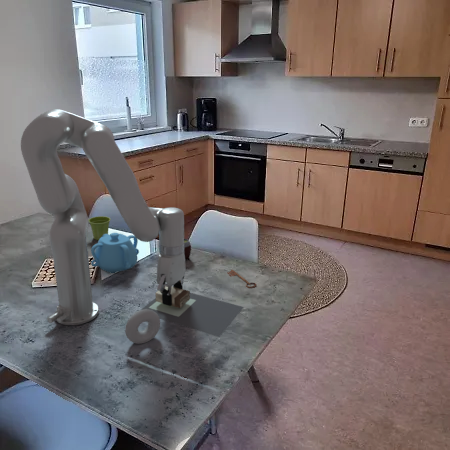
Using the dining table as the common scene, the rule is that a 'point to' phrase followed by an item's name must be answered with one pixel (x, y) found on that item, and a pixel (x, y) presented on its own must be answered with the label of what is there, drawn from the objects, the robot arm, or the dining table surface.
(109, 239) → the decorative pot
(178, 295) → the wooden block
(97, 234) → the plant pot
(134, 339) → the donut
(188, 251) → the mate gourd
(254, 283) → the key
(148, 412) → the dining table surface
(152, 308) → the mat
